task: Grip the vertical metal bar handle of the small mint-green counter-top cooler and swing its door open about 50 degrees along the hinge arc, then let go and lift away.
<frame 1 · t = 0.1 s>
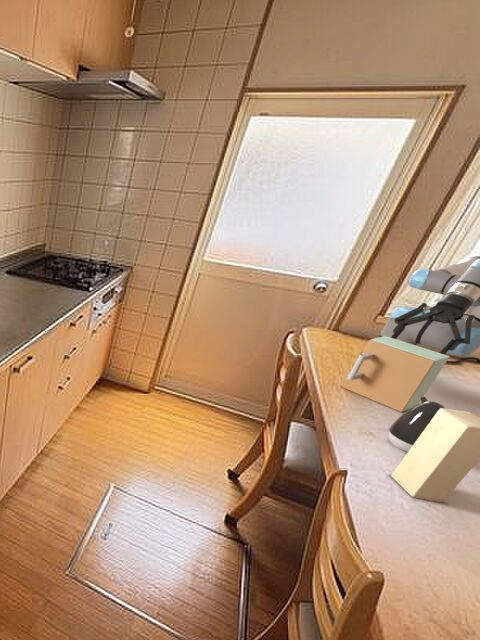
hand: (414, 348, 148), 15 cm above the table, tool tilted 35°, fingers open, 13 cm apart
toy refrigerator: (417, 490, 103), on the table
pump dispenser: (405, 448, 119), on the table
cooler door: (380, 376, 139), point 10 cm above the table, hinge at 0.0°
cooler: (379, 396, 147), on the table
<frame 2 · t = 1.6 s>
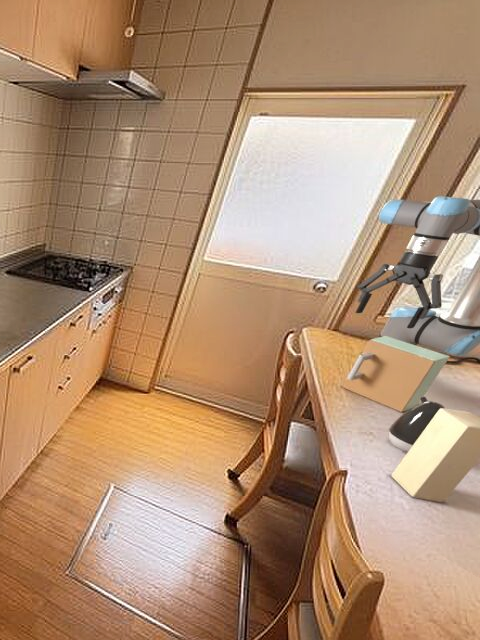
hand: (383, 320, 134), 28 cm above the table, tool pointing down, fingers open, 13 cm apart
nothing on the table moved.
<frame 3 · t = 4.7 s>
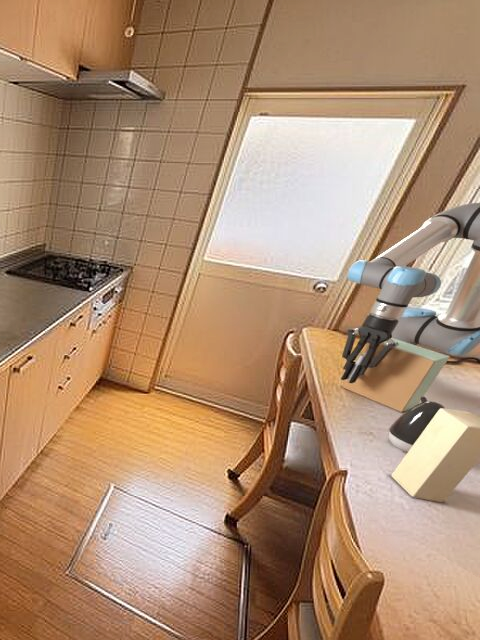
hand: (347, 380, 144), 5 cm above the table, tool pointing down, fingers closed on cooler door, 2 cm apart
cooler door: (380, 376, 139), point 10 cm above the table, hinge at 0.0°, touching gripper
everything else where it was.
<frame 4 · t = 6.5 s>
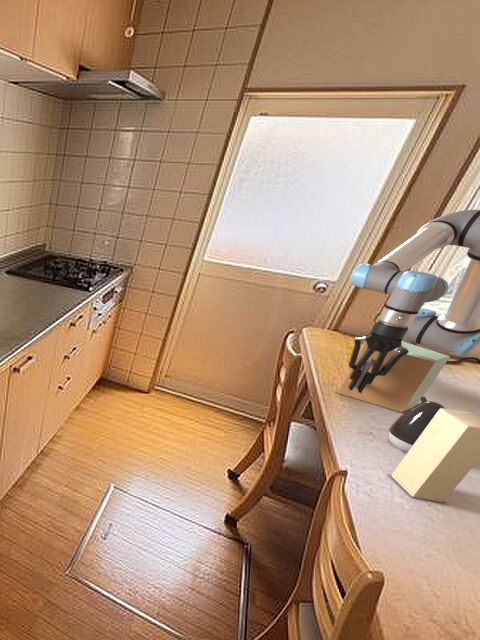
hand: (354, 389, 138), 5 cm above the table, tool pointing down, fingers closed on cooler door, 2 cm apart
cooler door: (383, 381, 136), point 10 cm above the table, hinge at 24.7°, touching gripper
everything else where it was.
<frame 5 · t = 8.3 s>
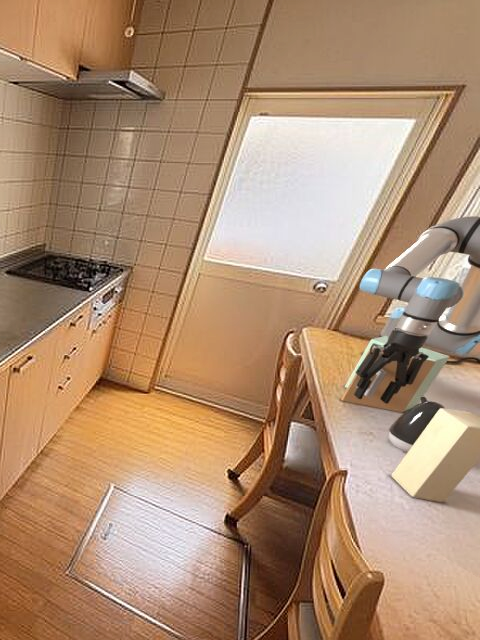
hand: (370, 399, 132), 6 cm above the table, tool pointing down, fingers open, 7 cm apart
cooler door: (391, 386, 133), point 10 cm above the table, hinge at 46.0°
everything else where it was.
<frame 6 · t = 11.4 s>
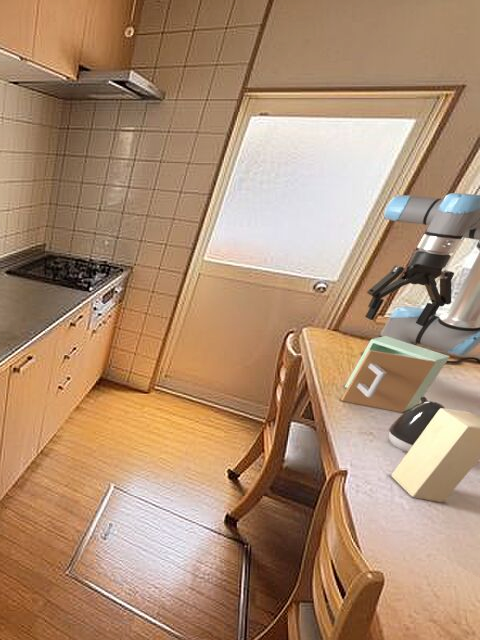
hand: (394, 321, 129), 29 cm above the table, tool pointing down, fingers open, 13 cm apart
nothing on the table moved.
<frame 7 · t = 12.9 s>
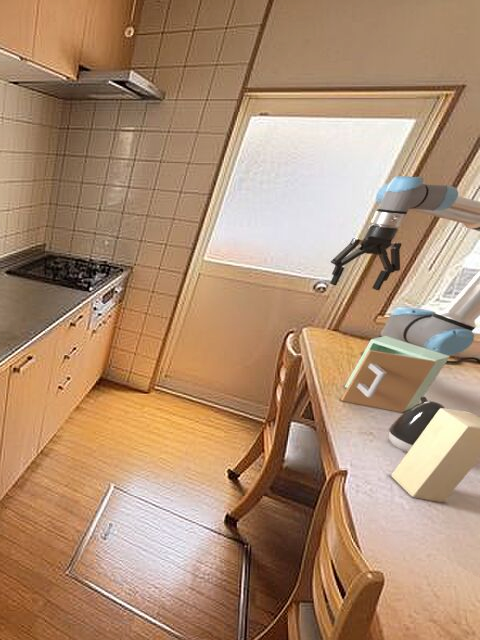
hand: (353, 286, 152), 32 cm above the table, tool pointing down, fingers open, 13 cm apart
nothing on the table moved.
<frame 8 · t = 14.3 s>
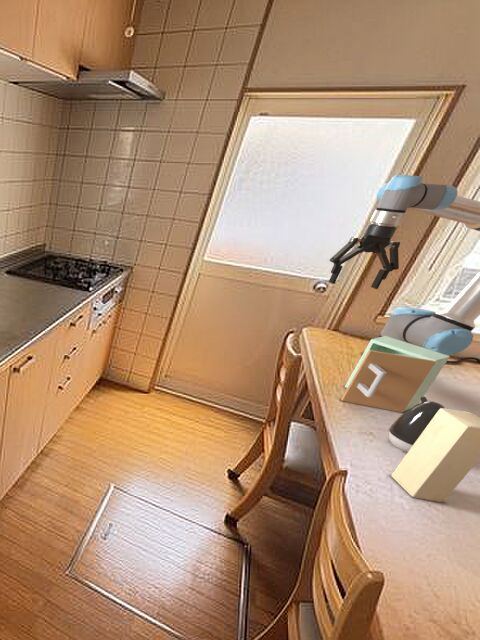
hand: (352, 285, 153), 33 cm above the table, tool pointing down, fingers open, 13 cm apart
nothing on the table moved.
at the end: cooler door at +46° (first picture: +0°); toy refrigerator moved 0.2 cm from its start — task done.
